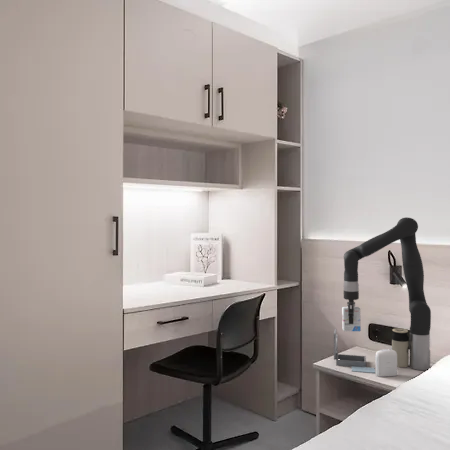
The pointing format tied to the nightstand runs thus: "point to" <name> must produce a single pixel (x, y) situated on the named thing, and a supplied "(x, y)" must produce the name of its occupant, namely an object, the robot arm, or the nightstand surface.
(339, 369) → the nightstand surface
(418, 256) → the robot arm
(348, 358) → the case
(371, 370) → the pad
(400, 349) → the travel mug
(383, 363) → the photo printer
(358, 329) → the ink box
